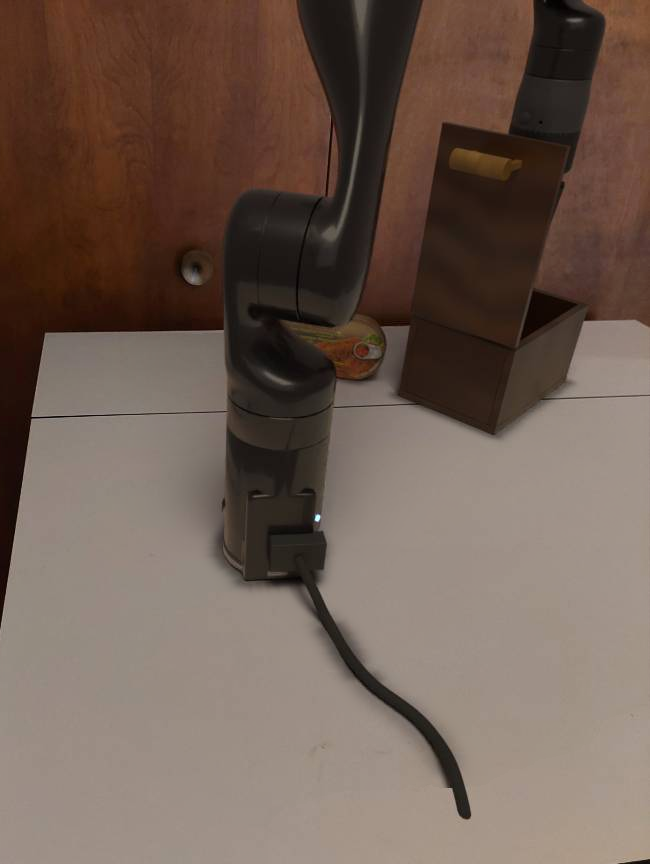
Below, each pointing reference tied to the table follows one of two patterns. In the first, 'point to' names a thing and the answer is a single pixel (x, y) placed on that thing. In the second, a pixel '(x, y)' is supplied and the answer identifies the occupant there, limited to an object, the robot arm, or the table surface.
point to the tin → (349, 345)
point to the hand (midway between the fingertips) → (509, 276)
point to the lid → (486, 229)
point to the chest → (491, 364)
